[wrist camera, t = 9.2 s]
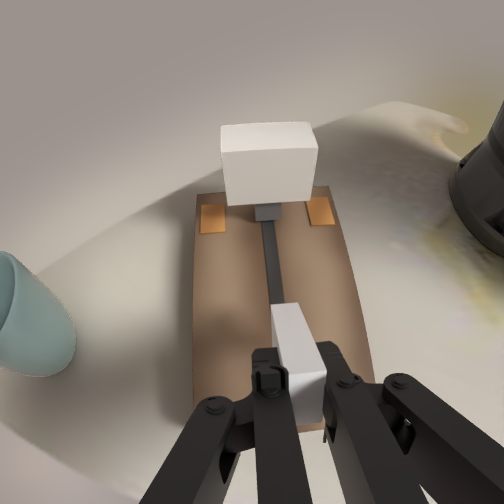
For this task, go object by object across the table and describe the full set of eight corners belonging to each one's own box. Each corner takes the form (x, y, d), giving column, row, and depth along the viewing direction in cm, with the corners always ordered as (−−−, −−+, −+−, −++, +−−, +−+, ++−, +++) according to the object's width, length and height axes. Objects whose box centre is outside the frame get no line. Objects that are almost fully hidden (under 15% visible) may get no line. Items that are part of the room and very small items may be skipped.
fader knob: (299, 195, 26) (308, 121, 19) (305, 223, 24) (318, 147, 18) (229, 200, 26) (220, 125, 19) (230, 228, 24) (220, 152, 18)
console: (323, 207, 30) (328, 184, 27) (366, 419, 19) (381, 417, 16) (202, 215, 29) (196, 193, 27) (203, 436, 19) (194, 438, 16)
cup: (24, 319, 24) (-41, 270, 15) (82, 295, 25) (20, 234, 17) (32, 392, 20) (-47, 362, 11) (96, 374, 21) (18, 337, 13)
